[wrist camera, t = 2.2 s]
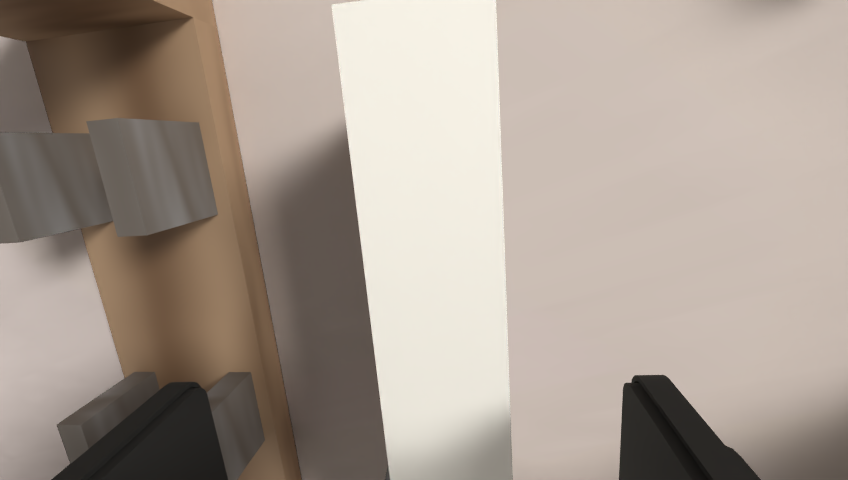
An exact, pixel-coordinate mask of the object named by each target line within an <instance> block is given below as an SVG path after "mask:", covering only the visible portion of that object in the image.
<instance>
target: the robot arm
mask: <svg viewBox="0 0 848 480" xmlns="http://www.w3.org/2000/svg"><path fill="white" fill-rule="evenodd" d="M52 480H228V477H227V473H226V469H225V465H224V461H223V456H222V452H221V448H220V444H219V440H218V436H217V432H216V428H215V424H214V420H213V416H212V412H211V408H210V404H209V400H208V395H207V393H206V391H205V390H204V389H203V388H201V386H200V385H199V384H198V383H197V382H171V383H168V384H167V385H165V386H164V387H163V388H161V389H160V390H159V391H158V392H157V393H155V394H154V395H153V396H152V397H151V398H149V399H148V400H147V401H146V402H145V403H143V404H142V405H141V406H140V407H139V408H137V409H136V410H135V411H134V412H133V413H131V414H130V415H129V416H128V417H126V418H125V419H124V420H123V421H122V422H120V423H119V424H118V425H117V426H116V427H114V428H113V429H112V430H111V431H110V432H108V433H107V434H106V435H105V436H104V437H102V438H101V439H100V440H99V441H98V442H96V443H95V444H94V445H93V446H91V447H90V448H89V449H88V450H87V451H85V452H84V453H83V454H82V455H81V456H79V457H78V458H77V459H76V460H75V461H73V462H72V463H71V464H70V465H69V466H67V467H66V468H65V469H64V470H63V471H61V472H60V473H59V474H58V475H57V476H55V477H54V478H53V479H52ZM619 480H761V479H760V478H759V477H758V476H757V475H756V474H755V472H754V471H753V470H752V469H751V468H750V467H749V466H748V464H747V463H746V462H745V461H744V460H743V459H742V457H741V456H740V455H739V454H738V453H737V452H735V451H734V450H733V449H732V448H730V447H727V446H725V445H724V444H723V442H722V441H721V440H720V439H719V438H718V436H717V435H716V434H715V433H714V432H713V431H712V429H711V428H710V427H709V426H708V425H707V423H706V422H705V421H704V420H703V419H702V417H701V416H700V415H699V414H698V413H697V412H696V410H695V409H694V408H693V407H692V406H691V404H690V403H689V402H688V401H687V400H686V398H685V397H684V396H683V395H682V394H681V392H680V391H679V390H678V389H677V388H676V387H675V385H674V384H673V383H672V382H671V381H670V379H669V378H668V377H666V376H664V375H635V376H634V377H633V379H632V383H625V384H624V387H623V403H622V425H621V448H620V470H619Z"/></svg>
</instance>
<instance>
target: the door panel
mask: <svg viewBox="0 0 848 480" xmlns="http://www.w3.org/2000/svg"><path fill="white" fill-rule="evenodd" d="M332 13H333V21H334V29H335V37H336V45H337V54H338V62H339V70H340V78H341V86H342V94H343V102H344V110H345V118H346V127H347V135H348V143H349V151H350V159H351V167H352V175H353V183H354V191H355V199H356V208H357V216H358V224H359V232H360V240H361V248H362V256H363V264H364V272H365V281H366V289H367V297H368V305H369V313H370V321H371V329H372V337H373V345H374V354H375V362H376V370H377V378H378V386H379V394H380V402H381V410H382V418H383V426H384V435H385V443H386V451H387V459H388V468H387V473H386V479H385V480H513V475H512V447H511V418H510V390H509V361H508V332H507V304H506V275H505V247H504V218H503V189H502V161H501V132H500V104H499V75H498V46H497V18H496V0H362V1H355V2H348V3H341V4H334V5H332Z"/></svg>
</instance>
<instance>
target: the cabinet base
mask: <svg viewBox="0 0 848 480" xmlns="http://www.w3.org/2000/svg"><path fill="white" fill-rule="evenodd" d="M0 36H2V37H7V38H12V39H16V40H21V41H26V44H27V47H28V51H29V54H30V58H31V61H32V64H33V68H34V71H35V75H36V78H37V81H38V85H39V88H40V92H41V95H42V98H43V102H44V105H45V109H46V112H47V115H48V119H49V122H50V126H51V129H52V132H53V133H6V132H0V243H18V242H24V241H28V240H32V239H37V238H41V237H46V236H50V235H54V234H59V233H63V232H68V231H72V230H76V229H81V231H82V235H83V238H84V241H85V245H86V248H87V252H88V255H89V258H90V262H91V265H92V269H93V272H94V275H95V279H96V282H97V286H98V289H99V292H100V296H101V299H102V303H103V306H104V309H105V313H106V316H107V320H108V323H109V327H110V330H111V333H112V337H113V340H114V344H115V347H116V350H117V354H118V357H119V361H120V364H121V367H122V371H123V374H124V378H125V379H123V380H122V381H120V382H119V383H117V384H116V385H114V386H113V387H112V388H110V389H109V390H107V391H106V392H104V393H103V394H101V395H100V396H98V397H97V398H95V399H94V400H92V401H91V402H89V403H88V404H87V405H85V406H84V407H82V408H81V409H79V410H78V411H76V412H75V413H73V414H72V415H70V416H69V417H67V418H66V419H64V420H63V421H61V422H60V423H59V424H57V427H58V430H59V433H60V436H61V438H62V441H63V444H64V447H65V450H66V453H67V456H68V458H69V461H70V464H71V463H72V462H73V461H75V460H76V459H77V458H78V457H79V456H81V455H82V454H83V453H84V452H85V451H87V450H88V449H89V448H90V447H91V446H93V445H94V444H95V443H96V442H98V441H99V440H100V439H101V438H102V437H104V436H105V435H106V434H107V433H108V432H110V431H111V430H112V429H113V428H114V427H116V426H117V425H118V424H119V423H120V422H122V421H123V420H124V419H125V418H126V417H128V416H129V415H130V414H131V413H133V412H134V411H135V410H136V409H137V408H139V407H140V406H141V405H142V404H143V403H145V402H146V401H147V400H148V399H149V398H151V397H152V396H153V395H154V394H155V393H157V392H158V391H159V390H160V389H161V388H163V387H164V386H165V385H167V384H168V383H171V382H197V383H198V384H199V385H200V386H201V388H203V389H204V390H205V391H206V393H207V395H208V400H209V404H210V408H211V412H212V416H213V420H214V424H215V428H216V432H217V436H218V440H219V444H220V448H221V452H222V456H223V461H224V465H225V469H226V473H227V477H228V480H302V479H301V473H300V468H299V463H298V457H297V452H296V447H295V441H294V436H293V431H292V425H291V420H290V415H289V409H288V404H287V399H286V393H285V388H284V383H283V377H282V372H281V367H280V361H279V356H278V351H277V345H276V340H275V335H274V329H273V324H272V319H271V313H270V308H269V303H268V297H267V292H266V287H265V281H264V276H263V271H262V265H261V260H260V255H259V249H258V244H257V239H256V233H255V228H254V223H253V217H252V212H251V207H250V201H249V196H248V191H247V185H246V180H245V175H244V169H243V164H242V159H241V153H240V148H239V143H238V137H237V132H236V127H235V121H234V116H233V111H232V105H231V100H230V95H229V89H228V84H227V79H226V73H225V68H224V62H223V57H222V52H221V46H220V41H219V36H218V30H217V25H216V20H215V14H214V9H213V4H212V0H0Z"/></svg>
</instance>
